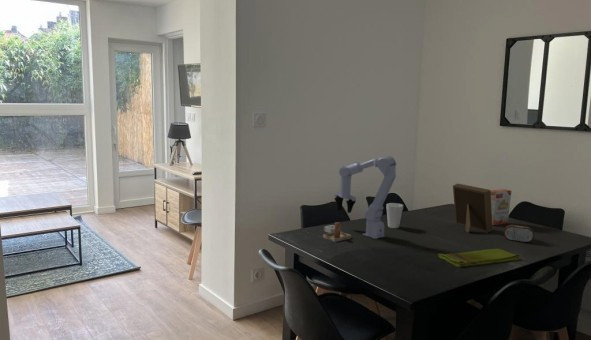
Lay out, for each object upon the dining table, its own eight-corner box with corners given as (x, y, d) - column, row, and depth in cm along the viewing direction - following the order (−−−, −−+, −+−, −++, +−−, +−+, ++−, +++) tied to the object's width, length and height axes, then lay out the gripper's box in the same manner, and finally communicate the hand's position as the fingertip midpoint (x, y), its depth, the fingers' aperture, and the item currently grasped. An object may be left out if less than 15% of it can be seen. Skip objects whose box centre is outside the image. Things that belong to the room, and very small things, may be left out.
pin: (341, 237, 249) (341, 223, 248) (337, 238, 247) (337, 224, 246) (336, 236, 251) (337, 221, 250) (333, 237, 249) (333, 222, 248)
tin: (533, 242, 252) (535, 227, 250) (533, 244, 249) (535, 228, 248) (503, 238, 258) (504, 223, 257) (502, 239, 255) (504, 224, 254)
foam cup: (400, 225, 279) (402, 203, 278) (402, 229, 270) (404, 207, 268) (384, 224, 280) (385, 202, 278) (386, 228, 271) (387, 206, 269)
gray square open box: (340, 232, 260) (340, 227, 260) (332, 234, 256) (332, 229, 256) (332, 230, 265) (332, 224, 265) (324, 231, 261) (324, 226, 261)
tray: (351, 238, 249) (352, 235, 249) (335, 242, 242) (335, 239, 241) (338, 234, 257) (338, 230, 256) (322, 238, 249) (322, 234, 249)
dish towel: (436, 257, 225) (437, 251, 225) (496, 251, 237) (497, 244, 237) (458, 268, 211) (458, 261, 210) (520, 261, 223) (521, 254, 223)
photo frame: (460, 222, 288) (463, 182, 284) (492, 231, 270) (496, 188, 266) (444, 226, 280) (447, 184, 276) (476, 235, 262) (480, 191, 258)
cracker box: (493, 226, 282) (496, 192, 279) (485, 223, 287) (488, 190, 284) (508, 223, 289) (512, 190, 286) (500, 221, 294) (503, 188, 291)
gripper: (331, 186, 267) (330, 209, 269) (349, 190, 256) (348, 214, 258) (340, 184, 271) (339, 207, 274) (358, 189, 260) (357, 213, 262)
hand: (344, 211), depth 266 cm, fingers open, 7 cm apart
